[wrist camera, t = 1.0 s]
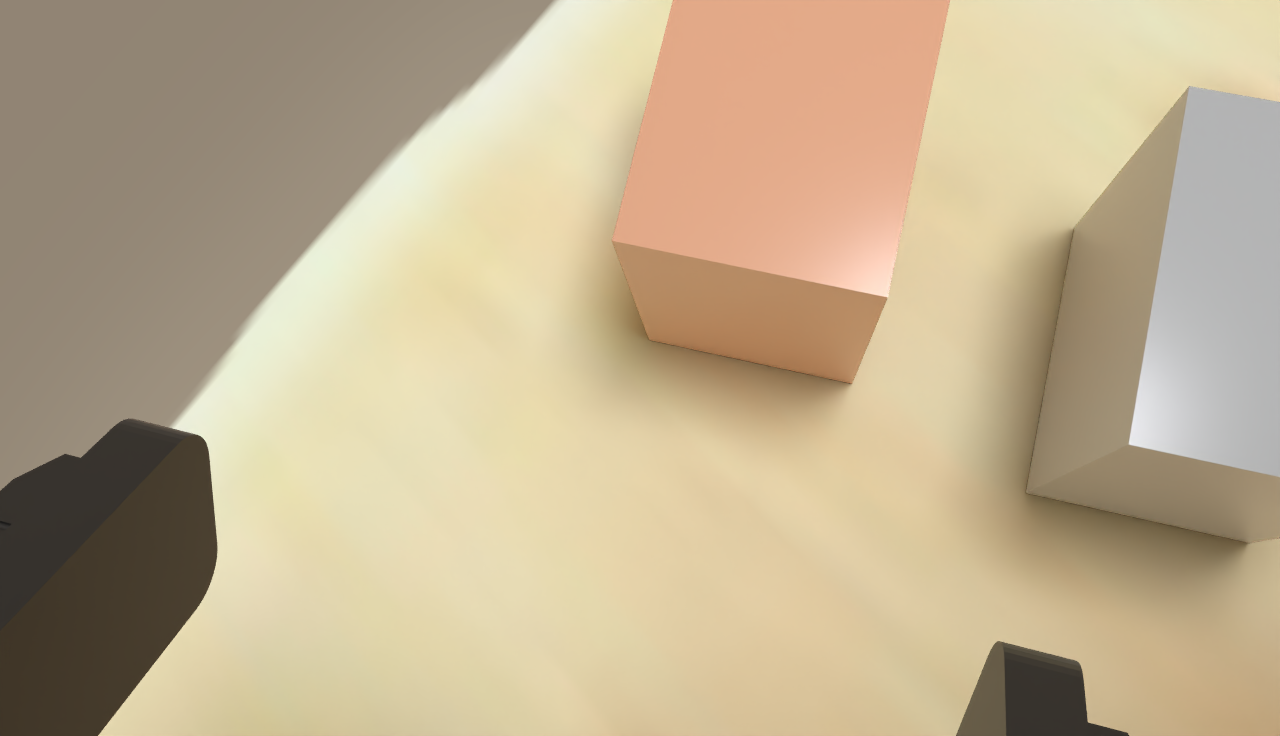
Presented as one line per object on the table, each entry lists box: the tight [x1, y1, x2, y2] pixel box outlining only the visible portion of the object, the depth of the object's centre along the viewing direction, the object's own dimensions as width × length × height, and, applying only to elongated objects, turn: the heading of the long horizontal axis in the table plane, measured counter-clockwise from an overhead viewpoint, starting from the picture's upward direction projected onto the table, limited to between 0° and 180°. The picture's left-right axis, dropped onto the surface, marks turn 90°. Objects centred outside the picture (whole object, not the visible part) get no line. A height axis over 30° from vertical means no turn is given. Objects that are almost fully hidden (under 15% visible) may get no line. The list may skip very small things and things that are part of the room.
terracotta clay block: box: [612, 0, 950, 384], centre depth 33 cm, size 8×6×10 cm
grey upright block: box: [1026, 86, 1280, 543], centre depth 31 cm, size 8×6×10 cm
